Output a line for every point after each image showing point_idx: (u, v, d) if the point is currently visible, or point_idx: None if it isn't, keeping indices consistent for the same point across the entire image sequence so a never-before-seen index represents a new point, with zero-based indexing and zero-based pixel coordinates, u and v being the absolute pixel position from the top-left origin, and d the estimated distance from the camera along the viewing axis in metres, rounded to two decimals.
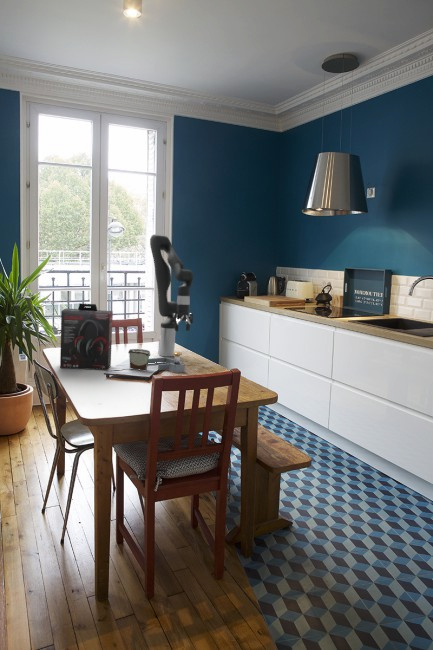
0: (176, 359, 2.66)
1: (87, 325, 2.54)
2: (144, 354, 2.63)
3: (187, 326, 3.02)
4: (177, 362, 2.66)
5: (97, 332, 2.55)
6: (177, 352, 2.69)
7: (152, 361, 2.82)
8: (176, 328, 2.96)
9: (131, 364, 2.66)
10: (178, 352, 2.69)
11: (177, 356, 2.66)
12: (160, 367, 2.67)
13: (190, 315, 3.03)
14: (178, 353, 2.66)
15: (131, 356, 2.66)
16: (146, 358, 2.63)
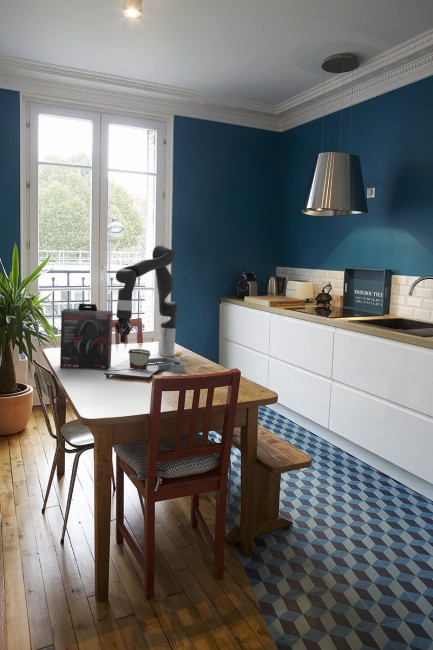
0: (176, 359, 2.66)
1: (87, 325, 2.54)
2: (144, 354, 2.63)
3: None
4: (177, 362, 2.66)
5: (97, 332, 2.55)
6: (177, 352, 2.69)
7: (152, 361, 2.82)
8: None
9: (131, 364, 2.66)
10: (178, 352, 2.69)
11: (177, 356, 2.66)
12: (160, 367, 2.67)
13: (119, 324, 2.60)
14: (178, 353, 2.66)
15: (131, 356, 2.66)
16: (146, 358, 2.63)
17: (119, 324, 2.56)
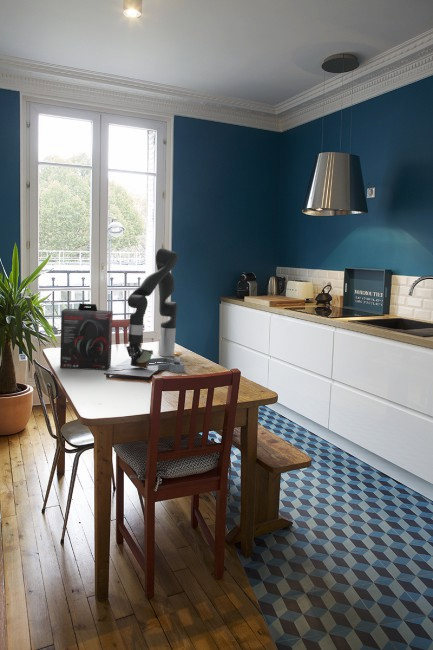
0: (176, 359, 2.66)
1: (87, 325, 2.54)
2: (147, 351, 2.65)
3: None
4: (177, 362, 2.66)
5: (97, 332, 2.55)
6: (177, 352, 2.69)
7: (152, 361, 2.82)
8: None
9: None
10: (178, 352, 2.69)
11: (177, 356, 2.66)
12: (160, 367, 2.67)
13: None
14: (178, 353, 2.66)
15: None
16: (148, 355, 2.65)
17: (130, 348, 2.63)
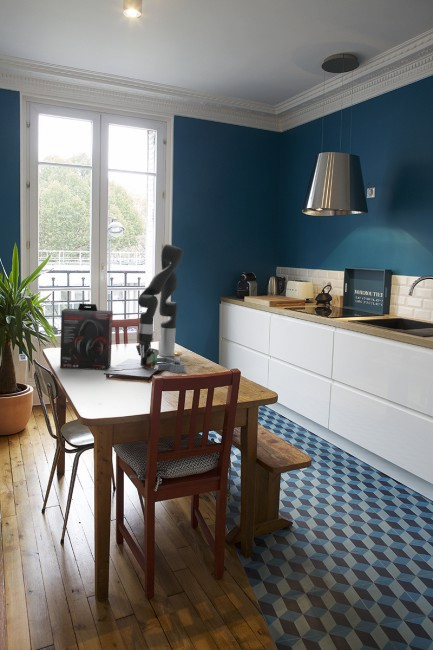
0: (176, 359, 2.66)
1: (87, 325, 2.54)
2: (151, 353, 2.67)
3: None
4: (177, 362, 2.66)
5: (97, 332, 2.55)
6: (177, 352, 2.69)
7: None
8: (145, 361, 2.69)
9: None
10: (178, 352, 2.69)
11: (177, 356, 2.66)
12: (160, 367, 2.67)
13: (140, 346, 2.72)
14: (178, 353, 2.66)
15: None
16: (152, 357, 2.66)
17: (140, 347, 2.67)
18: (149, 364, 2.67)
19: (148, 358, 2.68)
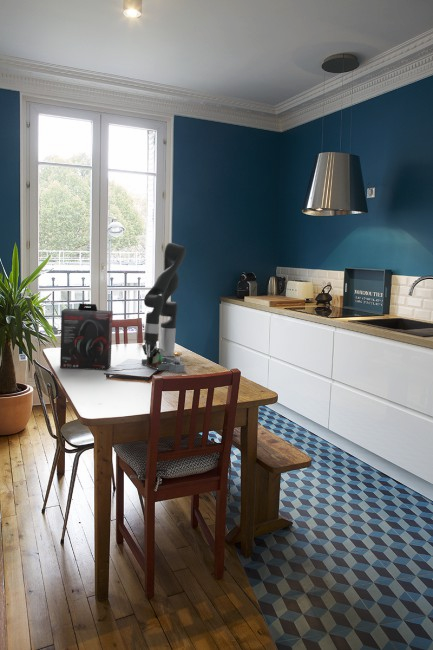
0: (176, 359, 2.66)
1: (87, 325, 2.54)
2: None
3: None
4: (177, 362, 2.66)
5: (97, 332, 2.55)
6: (177, 352, 2.69)
7: None
8: (151, 360, 2.71)
9: None
10: (178, 352, 2.69)
11: (177, 356, 2.66)
12: (160, 367, 2.67)
13: (146, 346, 2.74)
14: (178, 353, 2.66)
15: None
16: (158, 356, 2.68)
17: (146, 346, 2.70)
18: (155, 364, 2.69)
19: (154, 358, 2.70)
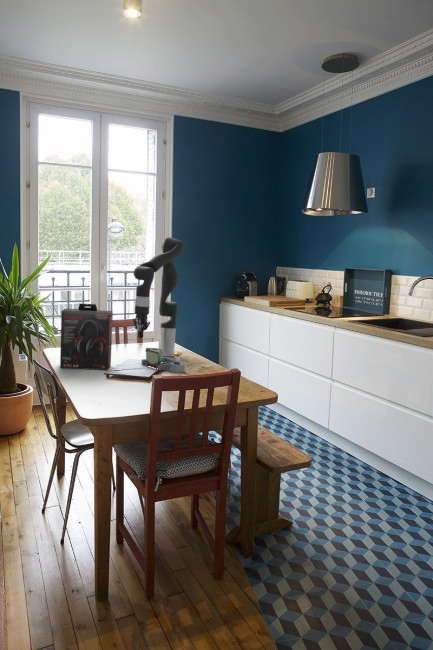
0: (176, 359, 2.66)
1: (87, 325, 2.54)
2: (156, 353, 2.68)
3: None
4: (177, 362, 2.66)
5: (97, 332, 2.55)
6: (177, 352, 2.69)
7: None
8: (142, 335, 2.65)
9: (147, 362, 2.74)
10: (178, 352, 2.69)
11: (177, 356, 2.66)
12: (160, 367, 2.67)
13: None
14: (178, 353, 2.66)
15: (147, 354, 2.74)
16: (157, 357, 2.68)
17: (137, 320, 2.63)
18: (155, 364, 2.69)
19: (153, 358, 2.70)
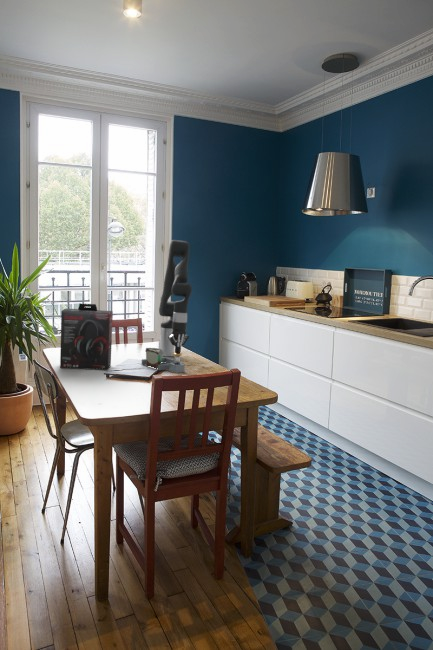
0: (176, 359, 2.66)
1: (87, 325, 2.54)
2: (156, 353, 2.68)
3: None
4: (177, 362, 2.66)
5: (97, 332, 2.55)
6: None
7: None
8: None
9: (147, 362, 2.74)
10: None
11: (177, 356, 2.66)
12: (160, 367, 2.67)
13: None
14: None
15: (147, 354, 2.74)
16: (157, 357, 2.68)
17: (179, 336, 2.64)
18: (155, 364, 2.69)
19: (153, 358, 2.70)
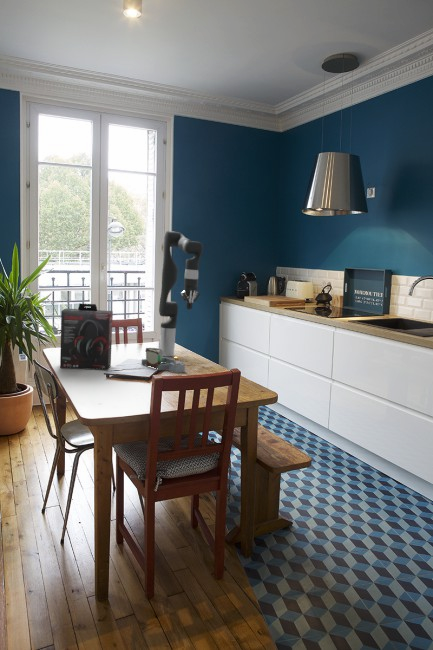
0: (176, 363, 2.67)
1: (87, 325, 2.54)
2: (156, 353, 2.68)
3: None
4: None
5: (97, 332, 2.55)
6: (177, 356, 2.69)
7: None
8: None
9: (147, 362, 2.74)
10: (178, 356, 2.69)
11: (177, 360, 2.66)
12: (160, 367, 2.67)
13: None
14: (178, 357, 2.66)
15: (147, 354, 2.74)
16: (157, 357, 2.68)
17: (191, 292, 2.76)
18: (155, 364, 2.69)
19: (153, 358, 2.70)
